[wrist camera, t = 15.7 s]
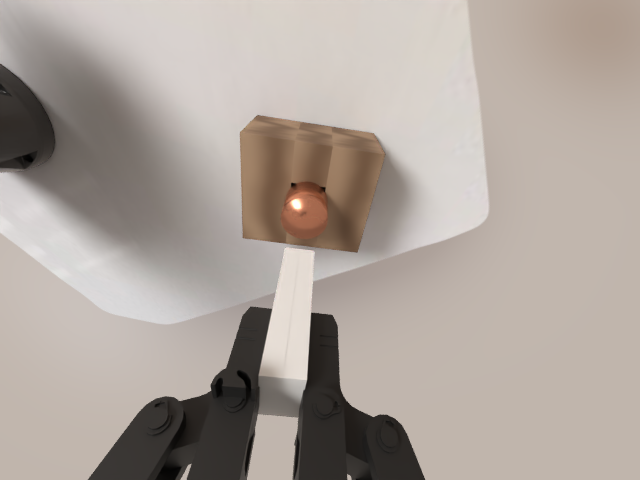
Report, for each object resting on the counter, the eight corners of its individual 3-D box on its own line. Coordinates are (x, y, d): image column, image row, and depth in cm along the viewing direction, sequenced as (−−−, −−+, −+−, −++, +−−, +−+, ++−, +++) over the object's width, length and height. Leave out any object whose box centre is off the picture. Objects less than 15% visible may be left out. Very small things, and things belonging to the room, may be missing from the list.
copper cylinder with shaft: (289, 195, 40) (279, 236, 31) (292, 161, 37) (282, 195, 28) (324, 200, 40) (323, 241, 32) (330, 166, 37) (331, 202, 29)
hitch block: (256, 206, 44) (242, 238, 37) (257, 115, 36) (239, 132, 29) (352, 219, 46) (357, 252, 38) (373, 133, 37) (385, 154, 30)
